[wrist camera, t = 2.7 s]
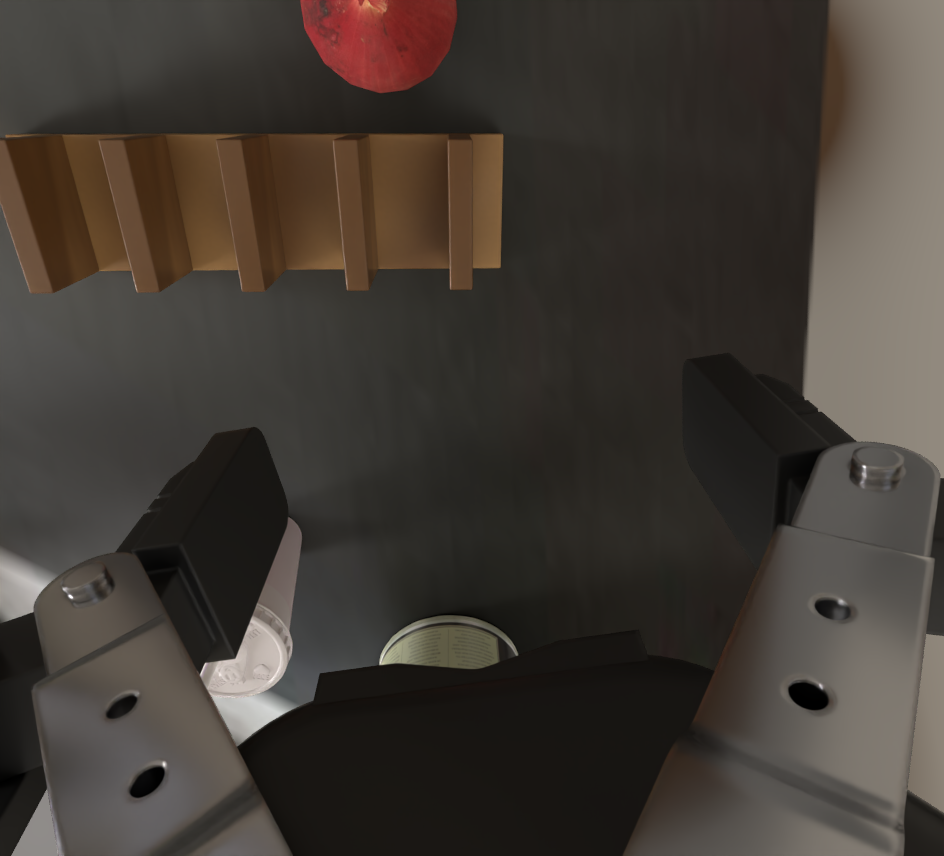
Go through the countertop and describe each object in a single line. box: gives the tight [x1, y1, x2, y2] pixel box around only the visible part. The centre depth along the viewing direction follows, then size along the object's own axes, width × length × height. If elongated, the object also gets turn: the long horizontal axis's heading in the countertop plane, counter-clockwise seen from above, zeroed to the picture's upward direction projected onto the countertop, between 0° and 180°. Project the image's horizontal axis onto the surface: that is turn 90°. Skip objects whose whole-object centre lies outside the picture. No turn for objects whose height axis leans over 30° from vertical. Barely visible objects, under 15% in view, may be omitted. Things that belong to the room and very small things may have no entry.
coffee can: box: [379, 615, 518, 669], centre depth 39 cm, size 10×10×14 cm
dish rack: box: [0, 133, 503, 293], centre depth 28 cm, size 22×6×5 cm, turn 90°
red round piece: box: [300, 0, 457, 93], centre depth 23 cm, size 6×6×8 cm
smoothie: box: [200, 517, 302, 698], centre depth 33 cm, size 6×6×14 cm
